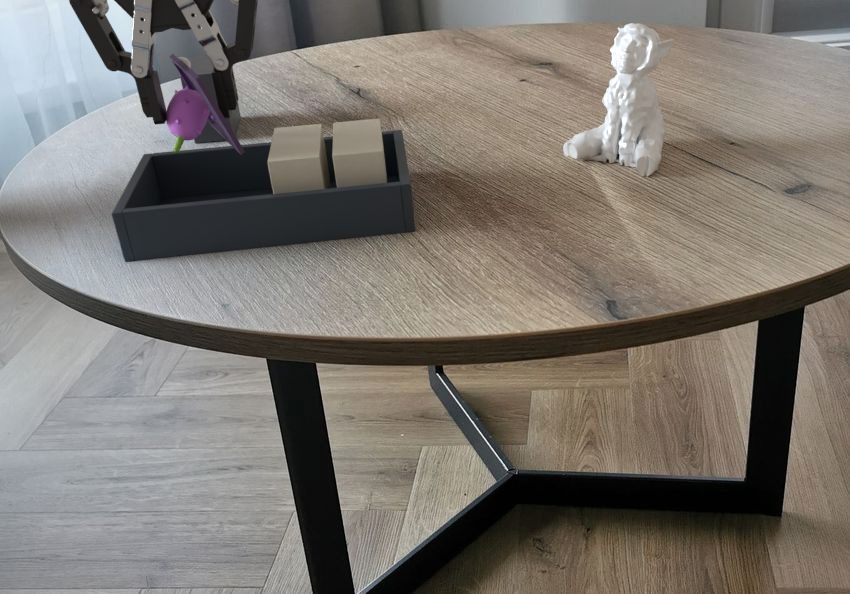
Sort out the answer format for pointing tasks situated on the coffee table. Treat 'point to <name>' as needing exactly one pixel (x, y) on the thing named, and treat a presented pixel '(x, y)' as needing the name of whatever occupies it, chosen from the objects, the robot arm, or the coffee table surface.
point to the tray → (251, 203)
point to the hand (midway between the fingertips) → (194, 117)
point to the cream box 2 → (358, 153)
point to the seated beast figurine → (628, 106)
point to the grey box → (204, 71)
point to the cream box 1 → (298, 159)
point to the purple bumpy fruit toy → (195, 109)
